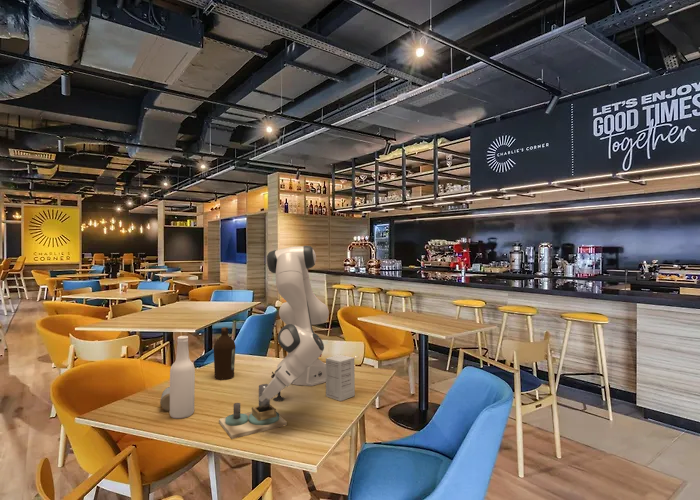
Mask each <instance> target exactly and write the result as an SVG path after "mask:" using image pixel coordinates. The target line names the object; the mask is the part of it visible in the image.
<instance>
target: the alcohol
mask: <svg viewBox="0 0 700 500" xmlns="http://www.w3.org/2000/svg"><path fill="white" fill-rule="evenodd" d="M176 342H177V345H176V354H175V355H176V356H175V361H174V362H173V363H172V364H171V367H170V370H169V387H170V411H169V416H170V418H172V419H178V420H179V419H181V420H182V419H185V418H189V417H191V416H192V415H193V414H194V413H195V392H196V391H195V384H196V383H195V382H196V381H195V379H196V378H195V376H196V374H195V373H196V372H195V371H196V370H195V369H196V368H195V364H194V363H193V362H192V361H191V359H190V352H189V336H188V335H179V336H177V340H176Z"/></svg>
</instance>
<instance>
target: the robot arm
mask: <svg viewBox="0 0 700 500" xmlns="http://www.w3.org/2000/svg"><path fill="white" fill-rule="evenodd" d="M316 261H317V254H316V252H315V250H314V248H313V247H312V246H311V245H302V246H298V245H297V246H289V247H285V248H280V249H274V250H271V251H269V252H268V253H267V255H266V261H265V262H266V267H267V268H268V270H269V272H271V273H272V274H275V285H276V289H277V292H278V295H280V296H281V298H282V299H283V300H284V301H285V302H283V303H282V304H281V305H280V306H279V309H278V315H279V318H280V320H281V321H282V322H283V323H284V324H285V325H284V326H282V327H281V329H280V330H279V331H278V334H277V343H278V344H279V345H278V346H280V347H281V348H282V349H283V350H284V351H285V352H286V353H287V355H285V357H284V358H283V359H282V360H281V361H280V362H279V363H278V364H277V365H276V367H277V368H276V370H277V371H276V370H275V371H276V373H275V372H274V374H275V376H274V378H271V380H270V382H269V383H267V384H268V386H267V387H266V388H265V389H264V391H263V392H262V395H261V396H260V397H259V396H258V401H259V400H260V401H261V402H262V401H263V400H264V399H266V398H267V399H268V400H270V401H271V399H274V398H275V397H276V396H278V393H279V392H280V391H283V390H282V389H285V388H286V387H287V388H288V387H289V386H291V384H292V385H297V386H308V387H313V386H317V385H320V384H324V383H326V362H324V361H322V360H321V359H319V358H320V357H322V356H323V352H324V349H325V345H324V342H323V340H322V339H321V337H320V336H319V335H318V334H316V333H315V332H314V329H313V326H312V325H321V324H325V323H326V322H327V320H328V318H329V316H330V311H329V308H328V305H326V303H323V302H322V300H320V299H319V298H318V297H317V296H316V294H315V293H314V291H313V289H312V285H311V280H310V275H309V269H311V268H313V267H314V266H315V265H316Z"/></svg>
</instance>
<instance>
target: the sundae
mask: <svg viewBox="0 0 700 500" xmlns="http://www.w3.org/2000/svg"><path fill="white" fill-rule="evenodd" d="M276 371H277V369H275V371H274V372H273V371H272V372H271V373H272V375H271V379H273V378H274V376H275V373H276ZM281 391H283V389H282V390H281ZM281 391H280V392H279V393H278V394H277V395H276V396H275V397H273V398H272V399H273V401H274V402H283V401H285V400H286V398H285V397H282V395H281Z"/></svg>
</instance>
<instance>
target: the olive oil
mask: <svg viewBox="0 0 700 500" xmlns="http://www.w3.org/2000/svg"><path fill="white" fill-rule="evenodd" d="M235 360H236V342H235V340H234V339H233V338H232V337H230V335H229V327H226V326H225V327H221V333H220V337H219V338H218V339H216V341H215V342H214V345H213V367H214V370H213V371H214V373H213V374H214V379H215V380H217V381H226V380H232V379H233V378H234V377H235V365H236V364H235V363H236V362H235Z"/></svg>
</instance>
